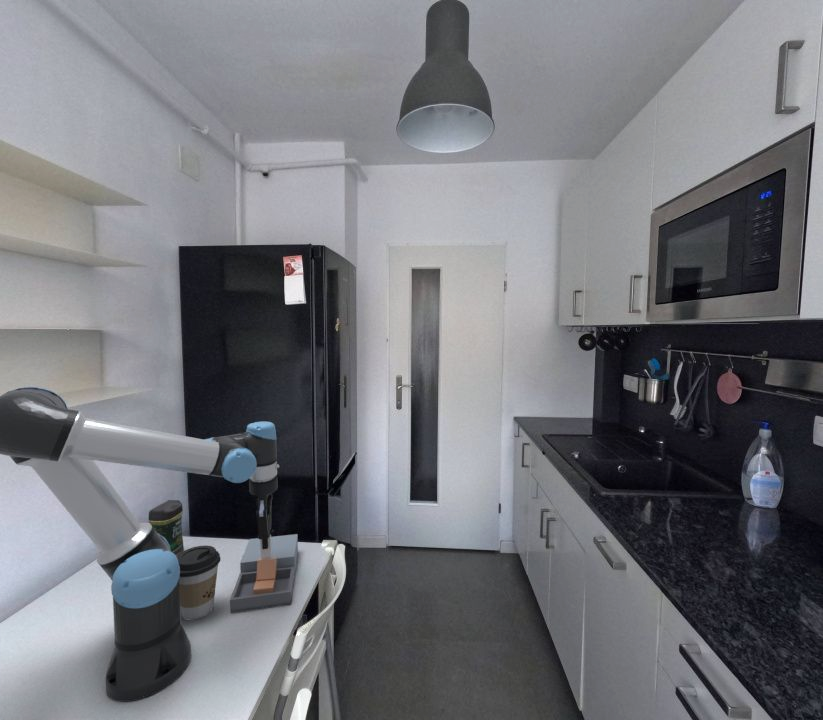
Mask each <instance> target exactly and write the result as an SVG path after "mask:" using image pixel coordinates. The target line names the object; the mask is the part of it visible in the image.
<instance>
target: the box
mask: <svg viewBox="0 0 823 720" xmlns="http://www.w3.org/2000/svg"><path fill="white" fill-rule="evenodd" d="M256 578H257V571H255V572H246V573H241V572H240V573H239V575H238V577H237V581H236V582H235V585H234V589H232V593H231V596H230V598H229V613H230V614H235V613H241V612H242V613H243V612H249V611H256V610H263V609H271V608H275V607H276V608H277V607H284V606H289V605H290V606H291V605H292V600H293V598H292V597H293V591H294V583H295V576H294V567H287V568H279V569H277V571H276V578H275V589H274V592H272V593H265V594H258V595H253V589H254V586H255V583H256Z"/></svg>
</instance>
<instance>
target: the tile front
mask: <svg viewBox="0 0 823 720" xmlns="http://www.w3.org/2000/svg"><path fill="white" fill-rule="evenodd" d="M274 589H275V578H274V579H264V580H256V583H255V586H254V589H253V595H258V594H265V593H272V592H274Z"/></svg>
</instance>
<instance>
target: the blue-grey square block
mask: <svg viewBox="0 0 823 720" xmlns="http://www.w3.org/2000/svg"><path fill="white" fill-rule="evenodd" d="M248 539H249V538H248ZM298 540H299V538H298V533H294V534H287V535H285V534H284V535H277V536H271V551H272V556H271V557H277V569H279V568H287V567H294V577H295V576H296V570H297V560H298V554H299V553H298V552H299V550H298V549H299V541H298ZM259 558H261V545H260V539H257V537H256V538H250V539H249V540H248V542H247V545H246V547H245V550H244V553H243V555H242V557H241V560H240V562H239V563H240V564H239V565H240V568H239V569H240V571H239V572H240V573H246V572H255V571H257V560H258V559H259Z"/></svg>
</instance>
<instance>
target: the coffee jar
mask: <svg viewBox="0 0 823 720" xmlns="http://www.w3.org/2000/svg"><path fill="white" fill-rule="evenodd" d="M183 513H184V510H183V503H182V501H180V500H179V499H167V500H166V501H164V502H163V503H160V504H158V505H157V506H155V507H154V508H152V509H150V510H149V511H148V517H147V518H148V523H150V524H151V525H152V527H153V528H154V529H155V531H156V532H157V533H158V534H160V535H162V536H163V537H164V538H165V539H166V540H167V542H168V543H169V545H170V549H171V552H172V553H174V554H175V555H176V557H177V556H178V555H179V554H180V553H182V552H183V551H185V548H184V547H185V546H184V537H183V529H182V528H183V527H182V519H183Z"/></svg>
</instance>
